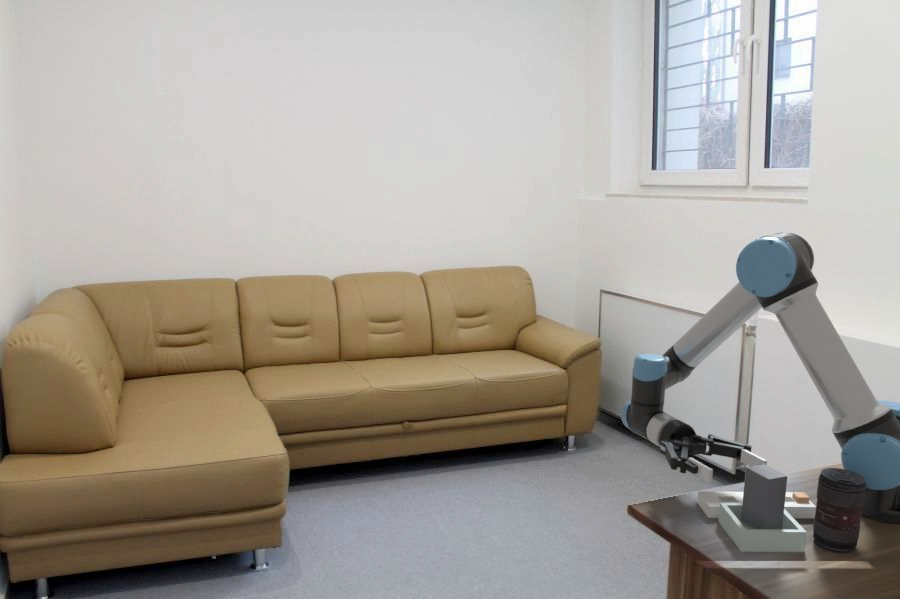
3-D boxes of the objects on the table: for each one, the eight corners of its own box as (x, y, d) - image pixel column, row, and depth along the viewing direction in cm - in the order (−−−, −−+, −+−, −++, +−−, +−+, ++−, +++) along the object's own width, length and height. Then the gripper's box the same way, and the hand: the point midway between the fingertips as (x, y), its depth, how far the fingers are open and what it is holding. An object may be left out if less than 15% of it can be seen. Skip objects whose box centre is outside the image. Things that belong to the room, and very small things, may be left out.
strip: (799, 507, 168) (801, 487, 167) (814, 522, 161) (817, 502, 160) (696, 506, 167) (698, 487, 166) (707, 522, 160) (709, 501, 160)
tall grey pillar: (758, 527, 157) (764, 464, 154) (780, 541, 151) (787, 476, 149) (740, 530, 155) (746, 467, 153) (762, 545, 150) (768, 479, 147)
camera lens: (863, 561, 146) (873, 486, 143) (816, 556, 148) (825, 482, 145) (850, 540, 154) (859, 468, 151) (806, 536, 155) (814, 464, 152)
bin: (776, 526, 159) (779, 503, 158) (804, 556, 148) (806, 532, 147) (717, 526, 159) (719, 502, 158) (740, 556, 147) (743, 531, 146)
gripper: (715, 444, 182) (784, 480, 163) (623, 458, 173) (685, 498, 154) (717, 413, 181) (788, 446, 161) (625, 425, 171) (688, 462, 152)
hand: (738, 471), depth 157 cm, fingers open, 13 cm apart
